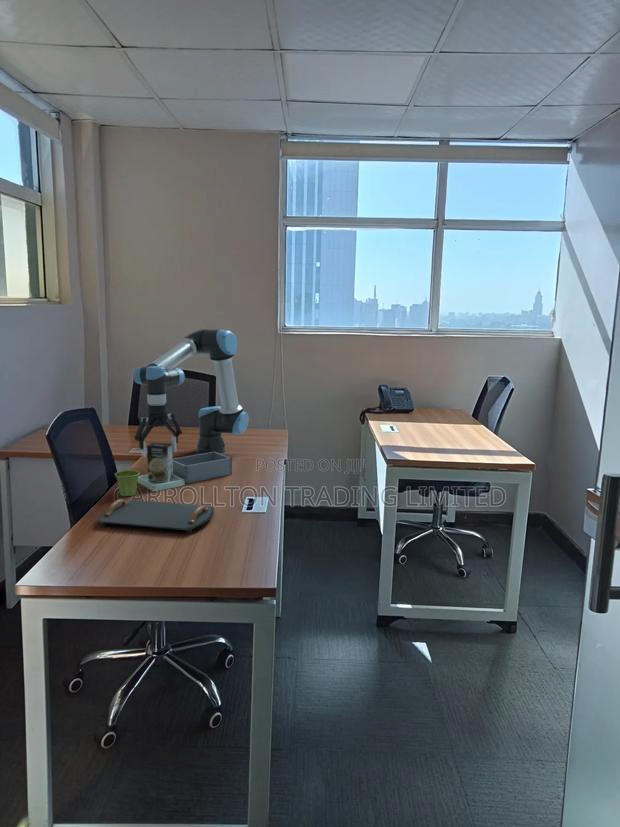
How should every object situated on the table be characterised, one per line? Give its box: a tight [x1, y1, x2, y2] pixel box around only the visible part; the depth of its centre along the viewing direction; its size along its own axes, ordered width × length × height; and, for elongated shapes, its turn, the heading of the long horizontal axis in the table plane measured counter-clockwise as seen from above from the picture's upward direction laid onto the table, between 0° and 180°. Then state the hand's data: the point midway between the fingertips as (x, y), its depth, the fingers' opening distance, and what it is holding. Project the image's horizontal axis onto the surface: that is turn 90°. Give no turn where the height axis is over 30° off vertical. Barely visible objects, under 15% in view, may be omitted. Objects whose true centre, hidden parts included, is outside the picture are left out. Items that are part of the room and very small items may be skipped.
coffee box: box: [146, 442, 174, 483], centre depth 239 cm, size 9×6×16 cm
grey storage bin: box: [173, 452, 233, 484], centre depth 253 cm, size 23×15×8 cm, turn 130°
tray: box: [137, 473, 186, 493], centre depth 240 cm, size 14×17×2 cm
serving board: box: [97, 498, 215, 535], centre depth 199 cm, size 39×23×6 cm, turn 78°
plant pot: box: [114, 469, 141, 497], centre depth 226 cm, size 9×9×9 cm
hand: (159, 453), depth 238 cm, fingers open, 13 cm apart
